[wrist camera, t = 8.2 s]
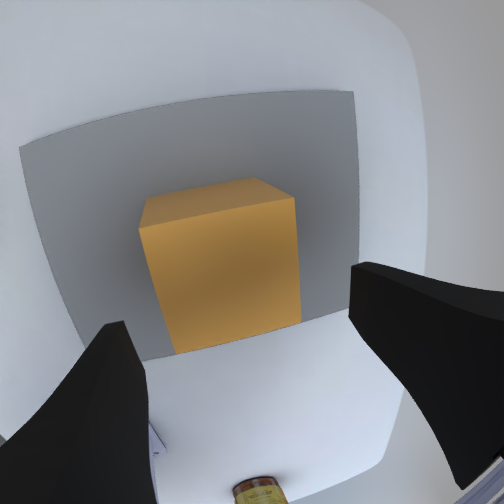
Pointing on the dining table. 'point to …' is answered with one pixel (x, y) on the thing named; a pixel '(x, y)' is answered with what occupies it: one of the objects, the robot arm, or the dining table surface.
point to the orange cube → (223, 261)
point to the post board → (188, 177)
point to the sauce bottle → (259, 492)
